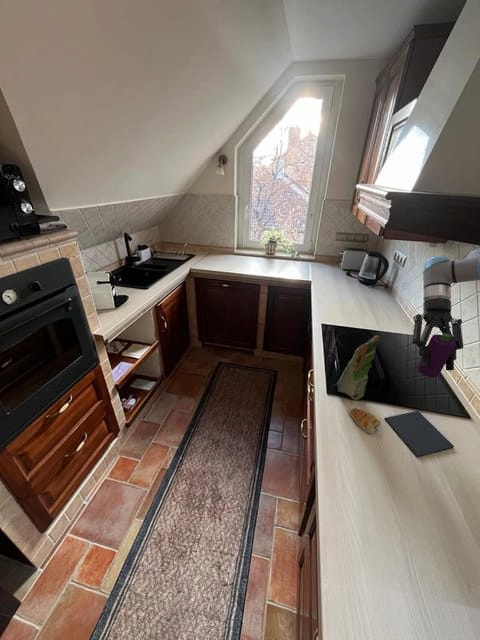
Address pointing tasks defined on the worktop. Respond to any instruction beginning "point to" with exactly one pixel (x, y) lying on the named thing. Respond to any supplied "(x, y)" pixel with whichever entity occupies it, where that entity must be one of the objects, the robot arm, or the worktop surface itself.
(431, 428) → the mat
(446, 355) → the aubergine
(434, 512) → the worktop surface
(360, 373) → the pouch
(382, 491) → the worktop surface
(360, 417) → the pastry
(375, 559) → the worktop surface
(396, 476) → the worktop surface
